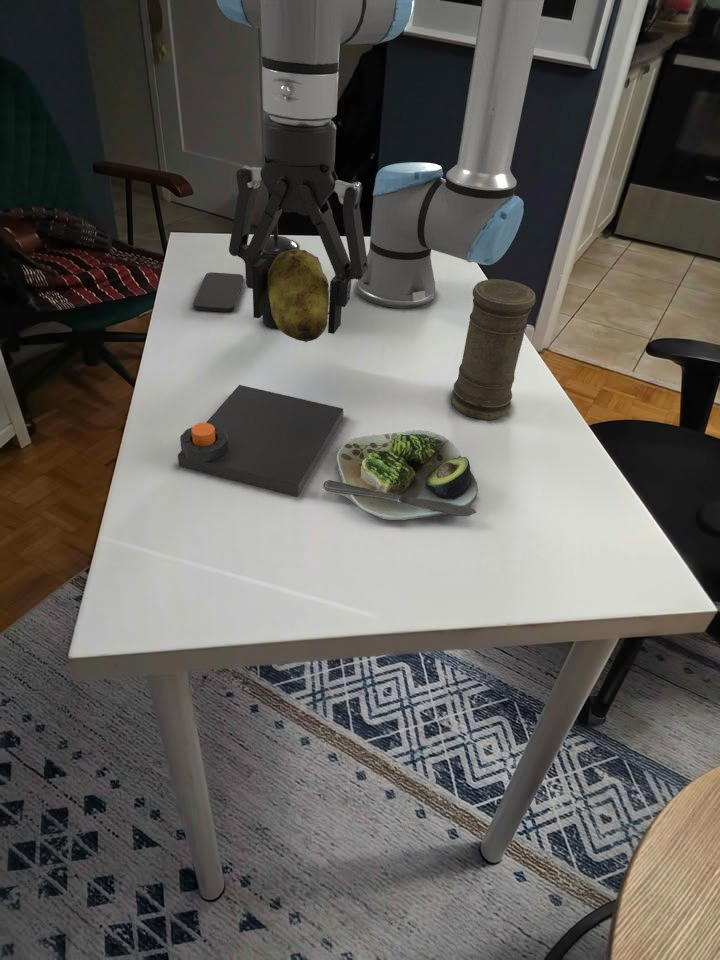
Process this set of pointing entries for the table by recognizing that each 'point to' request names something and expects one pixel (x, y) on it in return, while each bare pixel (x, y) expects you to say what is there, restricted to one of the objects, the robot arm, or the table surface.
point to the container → (492, 348)
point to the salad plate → (405, 476)
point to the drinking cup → (270, 252)
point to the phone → (219, 292)
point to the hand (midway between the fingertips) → (297, 321)
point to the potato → (298, 295)
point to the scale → (264, 440)
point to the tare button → (203, 434)
